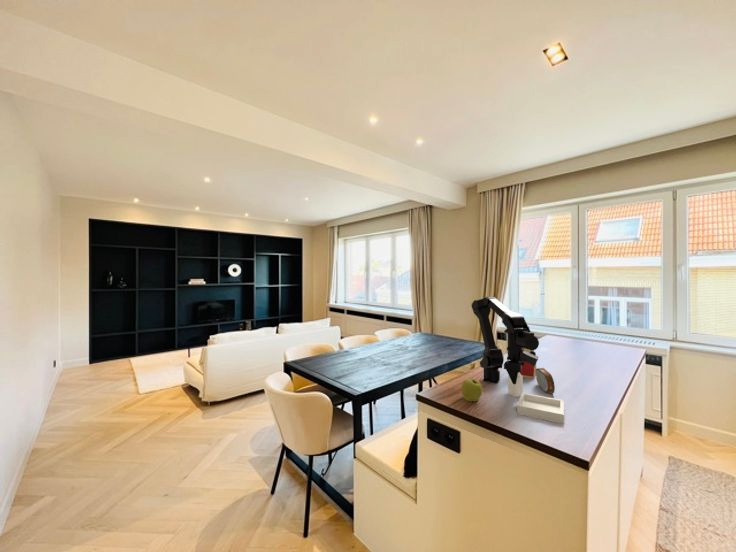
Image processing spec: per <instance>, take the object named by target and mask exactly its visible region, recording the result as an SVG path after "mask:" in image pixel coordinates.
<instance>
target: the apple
mask: <svg viewBox="0 0 736 552" xmlns="http://www.w3.org/2000/svg"><path fill="white" fill-rule="evenodd" d="M482 392H483V386H482V384H481V382H480V381H479V380H476V379H474V378H466V379H465V380H463V382H462V384H461V394H462V396H463V398H464V399H465V401H467V402H472V401H477V402H478V401H479V399H480V398H481V396H482Z"/></svg>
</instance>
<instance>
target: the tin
mask: <svg viewBox="0 0 736 552" xmlns="http://www.w3.org/2000/svg"><path fill="white" fill-rule="evenodd" d="M535 379H536V383H537V385H538V387H540V389H541V390H542V391H543V392H544V393H545V394H554V393H555V390H556V387H555V381H554V378H553V375H552V374H551V373H550V371H548V370H547V369H545V368H544V367H538V368H537V367H536V377H535Z"/></svg>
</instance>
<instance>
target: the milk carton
mask: <svg viewBox="0 0 736 552" xmlns="http://www.w3.org/2000/svg"><path fill="white" fill-rule="evenodd" d="M524 351H526V352H528V353H529V352H531V351H534V352H535V350H528V349H525V348H524ZM523 363H525V364H524V365H523V366H522V370H521V371H520V374H521V375H522V377H523V378H528V379H532V380H533V379H536V369H537V364H536V365H535V366H533V365H531V364H530V363H527V362H523Z"/></svg>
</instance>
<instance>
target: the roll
mask: <svg viewBox="0 0 736 552" xmlns="http://www.w3.org/2000/svg"><path fill="white" fill-rule="evenodd" d="M507 376H508V377H507V378H508V379H507V383H508V384H507V387H508V388H507V392H508V395H510V396H513V397H521V394H522V393H524V391H523V389H524V377H522V375H521V374H520V372H519V373H518V376H517V382H516V384H513V383H512V381H511V379H510V376H509V374H508V375H507Z"/></svg>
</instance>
